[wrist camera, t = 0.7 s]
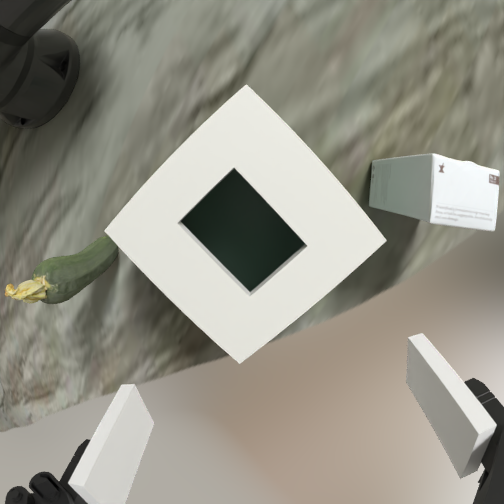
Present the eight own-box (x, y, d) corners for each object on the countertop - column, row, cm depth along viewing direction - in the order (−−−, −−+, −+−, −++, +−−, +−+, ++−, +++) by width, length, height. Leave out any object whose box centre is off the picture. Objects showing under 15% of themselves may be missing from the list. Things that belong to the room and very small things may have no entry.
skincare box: (367, 206, 37) (423, 227, 23) (371, 157, 36) (430, 151, 21) (425, 213, 37) (496, 236, 23) (430, 166, 36) (503, 169, 21)
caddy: (156, 210, 38) (104, 230, 25) (252, 116, 35) (246, 84, 22) (247, 302, 41) (239, 363, 27) (344, 216, 38) (386, 240, 24)
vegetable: (133, 255, 40) (42, 321, 20) (109, 269, 40) (16, 338, 21) (116, 225, 39) (13, 270, 19) (93, 241, 39) (-10, 292, 20)
